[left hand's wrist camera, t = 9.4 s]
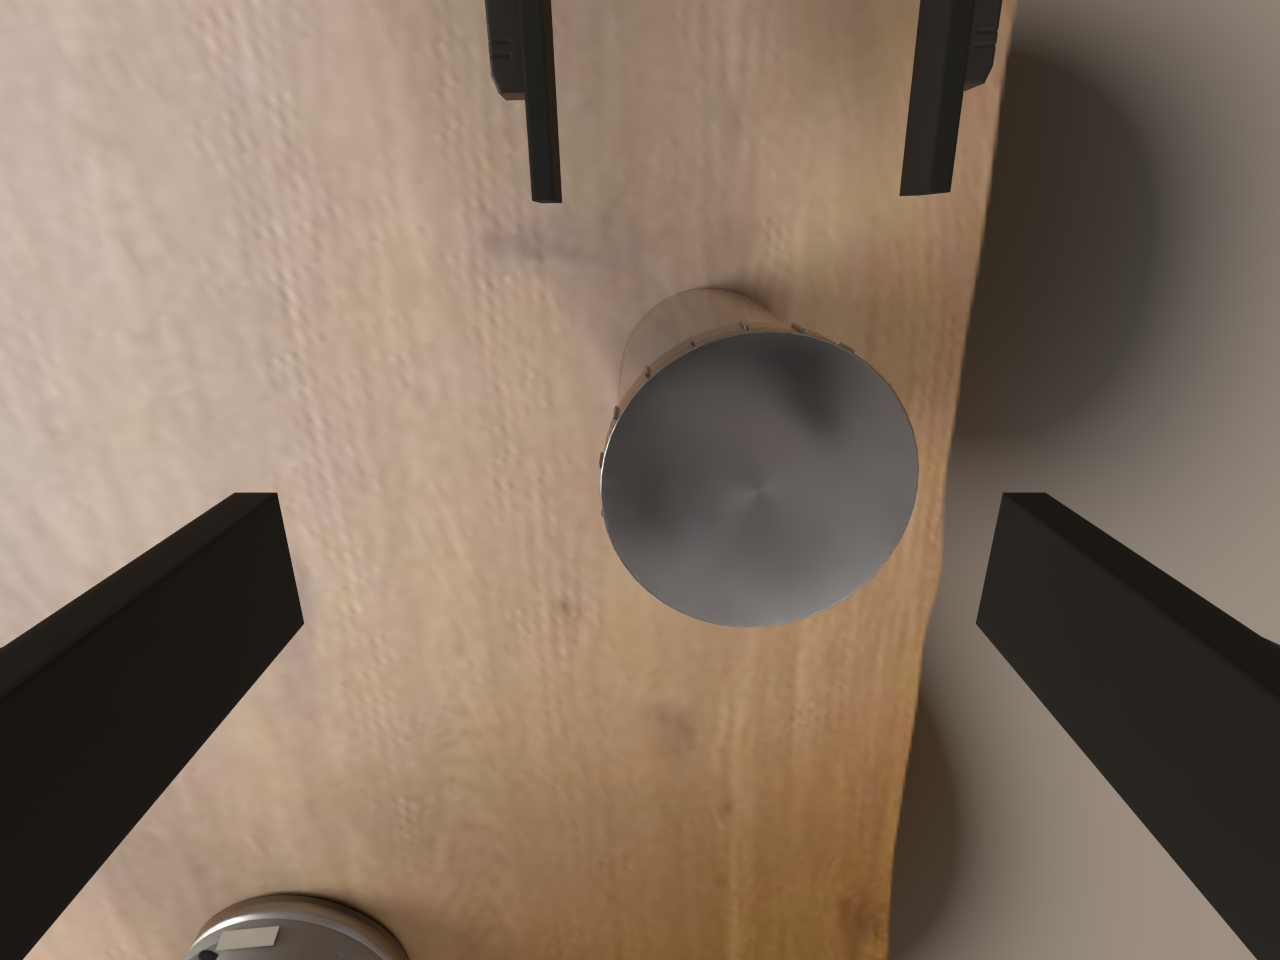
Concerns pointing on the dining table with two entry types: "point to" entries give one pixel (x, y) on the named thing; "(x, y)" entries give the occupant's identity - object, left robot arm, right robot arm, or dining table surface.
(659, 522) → the lid
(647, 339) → the jar
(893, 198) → the dining table surface
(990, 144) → the dining table surface
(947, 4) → the right robot arm
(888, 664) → the dining table surface
